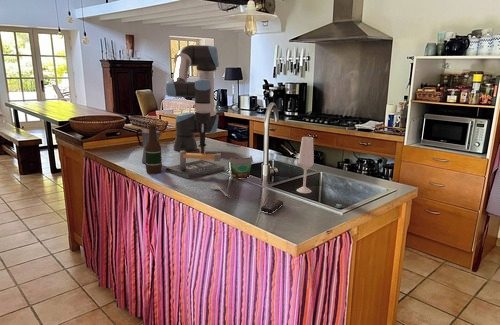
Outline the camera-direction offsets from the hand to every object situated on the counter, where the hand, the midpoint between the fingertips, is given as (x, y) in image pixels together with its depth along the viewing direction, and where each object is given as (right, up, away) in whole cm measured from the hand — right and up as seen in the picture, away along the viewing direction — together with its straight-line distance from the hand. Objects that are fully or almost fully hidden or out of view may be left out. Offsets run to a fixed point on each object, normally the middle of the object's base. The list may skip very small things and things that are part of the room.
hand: (202, 158), depth 186 cm
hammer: (-1, -5, -1) cm, 6 cm away
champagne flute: (+48, -15, -20) cm, 54 cm away
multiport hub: (+33, -20, -42) cm, 57 cm away
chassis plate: (-4, -6, +6) cm, 9 cm away
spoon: (+12, -16, -27) cm, 33 cm away
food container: (+20, -10, -4) cm, 23 cm away
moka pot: (-32, -2, +20) cm, 37 cm away
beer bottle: (-24, -7, +1) cm, 25 cm away
